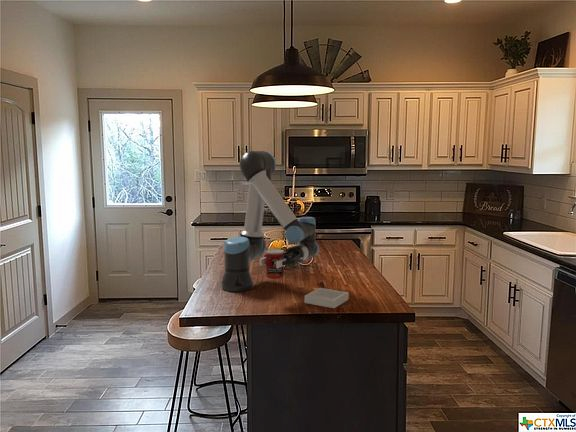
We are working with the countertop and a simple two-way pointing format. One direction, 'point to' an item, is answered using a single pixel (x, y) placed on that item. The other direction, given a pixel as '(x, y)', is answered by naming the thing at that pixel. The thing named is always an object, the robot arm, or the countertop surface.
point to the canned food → (274, 263)
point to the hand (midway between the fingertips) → (268, 263)
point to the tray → (327, 297)
